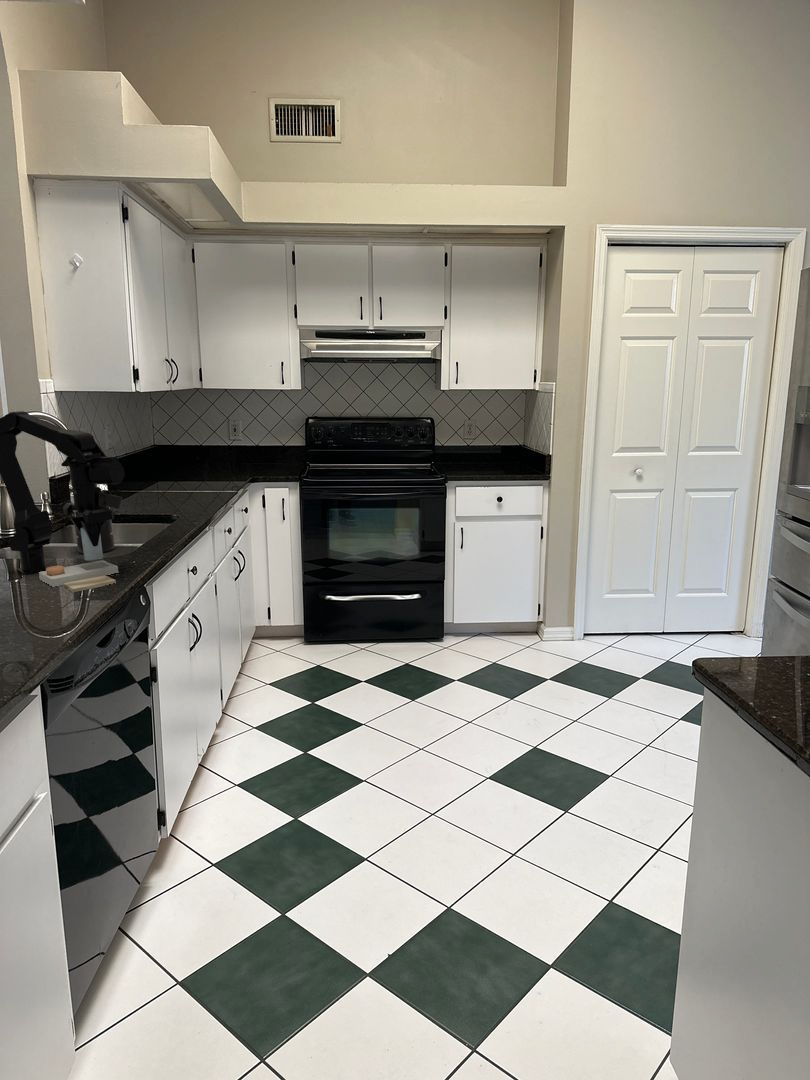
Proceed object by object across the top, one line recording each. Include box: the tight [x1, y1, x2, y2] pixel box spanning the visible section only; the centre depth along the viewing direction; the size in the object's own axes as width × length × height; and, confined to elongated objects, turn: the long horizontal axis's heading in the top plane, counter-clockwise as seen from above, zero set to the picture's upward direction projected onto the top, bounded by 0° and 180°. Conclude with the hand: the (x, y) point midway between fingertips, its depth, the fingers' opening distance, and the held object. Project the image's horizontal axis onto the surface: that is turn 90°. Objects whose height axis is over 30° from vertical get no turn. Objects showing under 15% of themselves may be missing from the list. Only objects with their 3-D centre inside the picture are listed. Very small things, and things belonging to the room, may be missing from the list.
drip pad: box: [62, 575, 117, 593], centre depth 182 cm, size 7×10×1 cm
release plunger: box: [45, 565, 65, 576], centre depth 186 cm, size 4×4×3 cm
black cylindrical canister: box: [68, 479, 115, 554], centre depth 216 cm, size 10×10×25 cm
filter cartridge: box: [81, 528, 104, 562], centre depth 191 cm, size 4×4×9 cm
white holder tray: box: [38, 559, 119, 588], centre depth 190 cm, size 10×16×2 cm, turn 132°
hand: (92, 544), depth 191 cm, fingers closed on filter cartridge, 4 cm apart
